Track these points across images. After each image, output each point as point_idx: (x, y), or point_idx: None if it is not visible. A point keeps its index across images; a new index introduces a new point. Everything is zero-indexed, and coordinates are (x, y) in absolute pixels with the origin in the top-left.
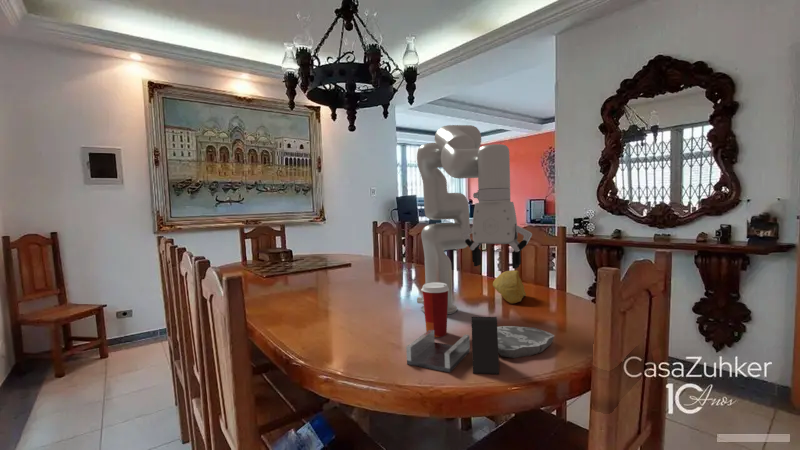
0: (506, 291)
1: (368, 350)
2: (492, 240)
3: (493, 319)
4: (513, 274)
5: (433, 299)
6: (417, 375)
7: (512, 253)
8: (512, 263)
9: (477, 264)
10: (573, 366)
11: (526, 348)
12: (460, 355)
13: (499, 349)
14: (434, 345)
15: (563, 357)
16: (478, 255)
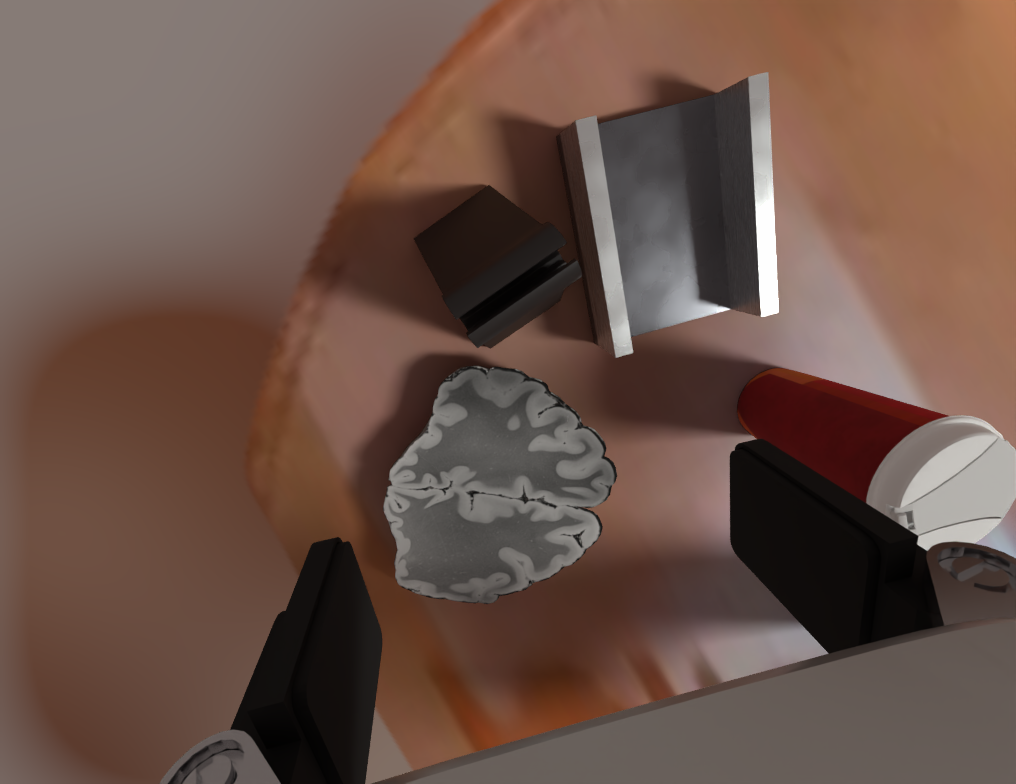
0: None
1: (914, 106)
2: (668, 770)
3: (465, 301)
4: None
5: (887, 418)
6: (639, 35)
7: (297, 680)
8: (334, 571)
9: (738, 472)
10: (268, 452)
11: (418, 436)
12: (583, 249)
13: (487, 368)
14: (715, 283)
15: (328, 493)
16: (806, 563)
